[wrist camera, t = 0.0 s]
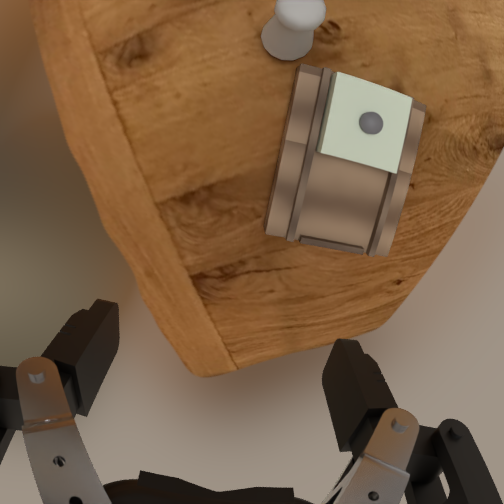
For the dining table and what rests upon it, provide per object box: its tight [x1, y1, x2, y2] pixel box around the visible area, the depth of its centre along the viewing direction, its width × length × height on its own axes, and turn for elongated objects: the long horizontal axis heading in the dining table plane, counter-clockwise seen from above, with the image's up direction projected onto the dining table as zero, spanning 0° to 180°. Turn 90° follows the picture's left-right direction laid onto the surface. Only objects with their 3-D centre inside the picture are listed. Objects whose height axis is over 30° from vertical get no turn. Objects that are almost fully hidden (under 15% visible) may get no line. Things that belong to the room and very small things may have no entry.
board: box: [264, 63, 426, 257], centre depth 35 cm, size 20×16×4 cm
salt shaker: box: [261, 0, 326, 60], centre depth 26 cm, size 6×6×13 cm
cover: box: [316, 72, 412, 173], centre depth 31 cm, size 9×9×4 cm
